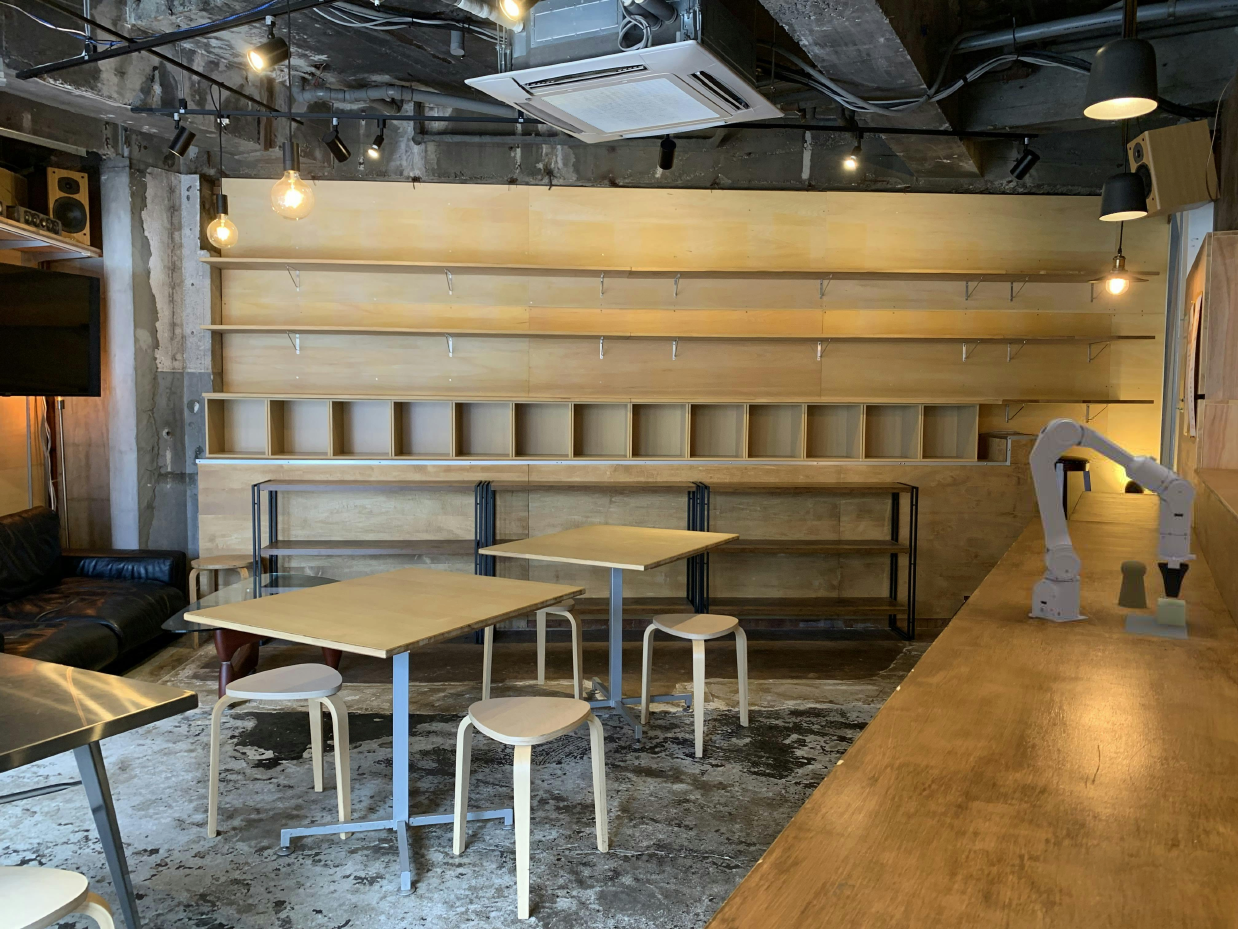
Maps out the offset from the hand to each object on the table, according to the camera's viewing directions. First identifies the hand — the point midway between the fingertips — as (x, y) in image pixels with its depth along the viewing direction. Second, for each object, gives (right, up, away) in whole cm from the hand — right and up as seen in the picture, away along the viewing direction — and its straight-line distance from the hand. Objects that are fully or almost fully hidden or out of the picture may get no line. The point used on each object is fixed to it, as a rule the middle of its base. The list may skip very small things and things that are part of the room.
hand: (1171, 597), depth 190 cm
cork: (+2, -5, +17) cm, 18 cm away
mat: (-5, -6, -2) cm, 8 cm away
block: (-1, -4, -1) cm, 4 cm away
